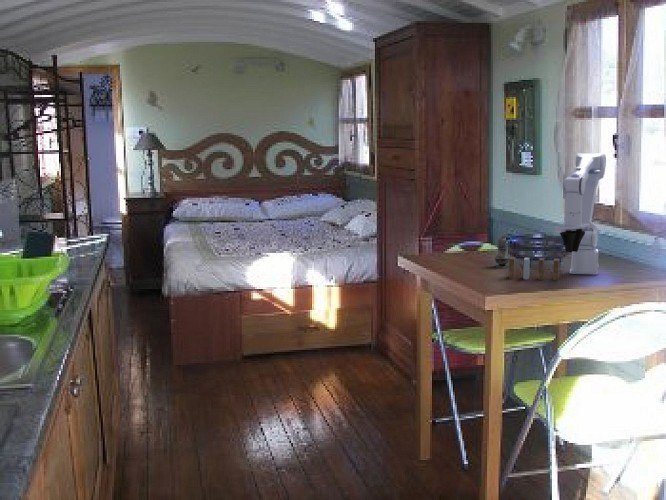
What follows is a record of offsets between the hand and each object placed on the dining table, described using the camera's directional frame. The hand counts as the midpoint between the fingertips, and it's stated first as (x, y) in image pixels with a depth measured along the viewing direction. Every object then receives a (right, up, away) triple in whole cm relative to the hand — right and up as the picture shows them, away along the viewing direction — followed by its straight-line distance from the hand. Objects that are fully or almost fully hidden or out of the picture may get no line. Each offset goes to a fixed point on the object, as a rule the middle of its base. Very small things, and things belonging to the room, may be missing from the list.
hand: (571, 251), depth 265 cm
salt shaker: (-18, -6, +29) cm, 34 cm away
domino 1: (-19, -9, +8) cm, 22 cm away
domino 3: (-9, -10, +5) cm, 14 cm away
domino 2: (-14, -9, +7) cm, 18 cm away
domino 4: (-5, -10, +3) cm, 11 cm away
